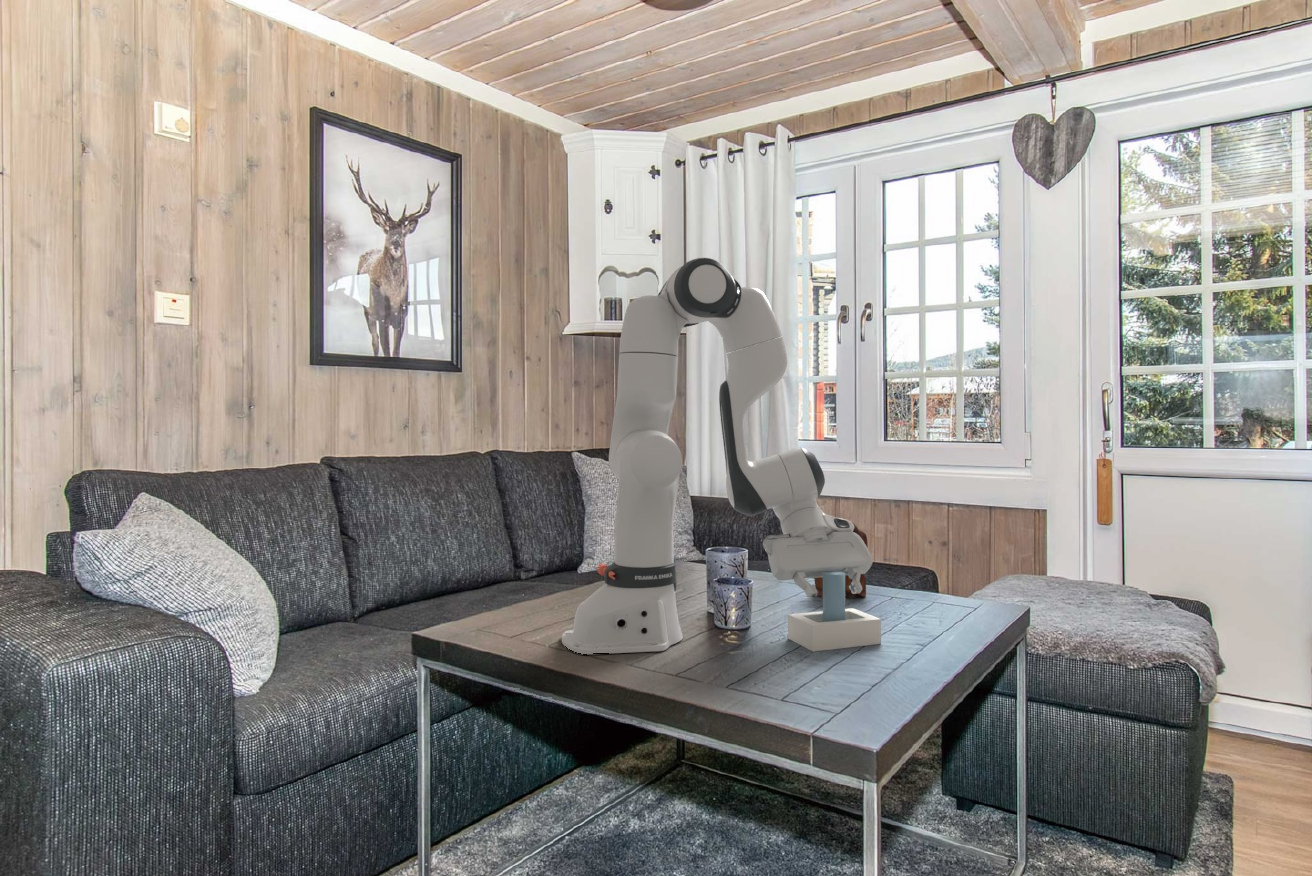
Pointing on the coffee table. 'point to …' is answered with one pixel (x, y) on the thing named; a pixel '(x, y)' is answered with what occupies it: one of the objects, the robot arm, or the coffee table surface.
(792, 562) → the robot arm
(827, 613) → the blue pin
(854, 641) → the slot block
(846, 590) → the wooden figurine
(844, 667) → the coffee table surface
